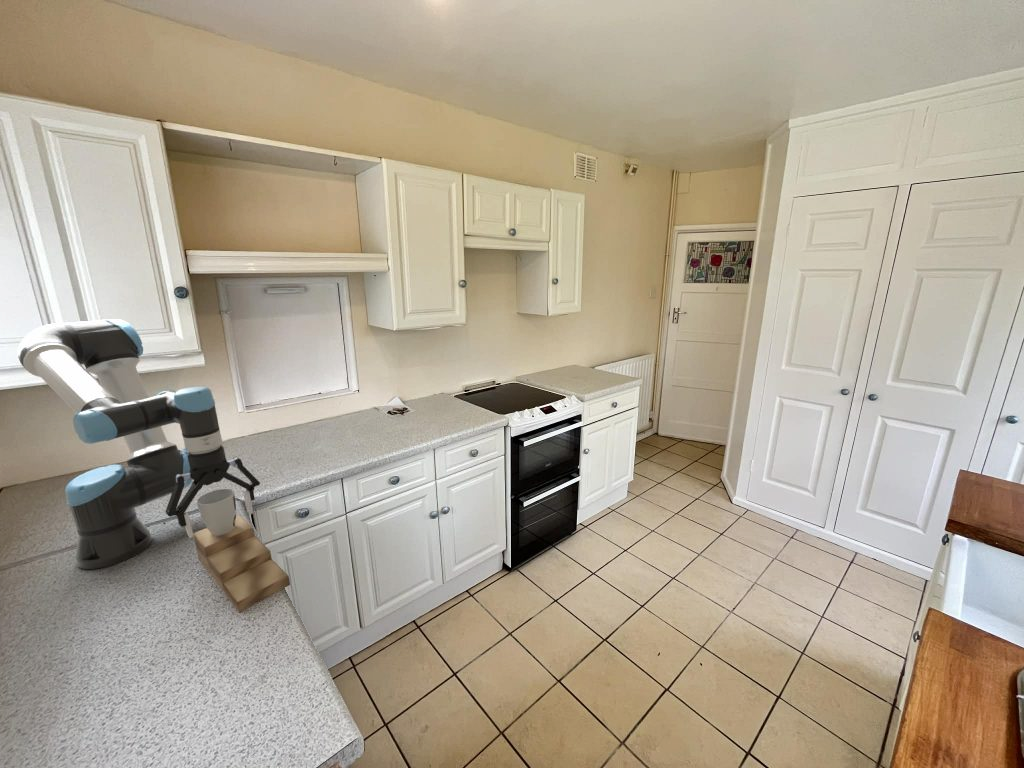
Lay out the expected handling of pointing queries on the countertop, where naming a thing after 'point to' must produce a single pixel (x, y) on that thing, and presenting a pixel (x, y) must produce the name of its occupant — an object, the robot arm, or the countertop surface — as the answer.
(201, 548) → the riser
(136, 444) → the robot arm
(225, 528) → the cup
